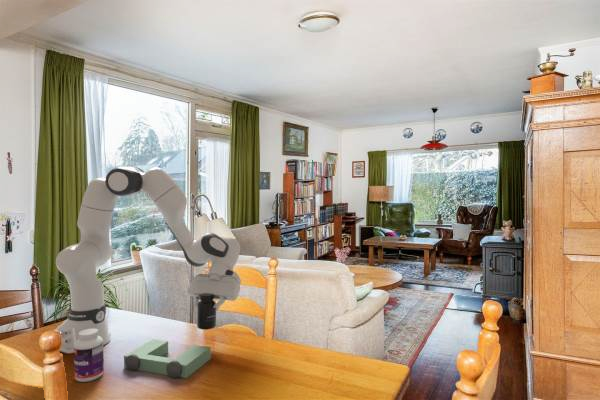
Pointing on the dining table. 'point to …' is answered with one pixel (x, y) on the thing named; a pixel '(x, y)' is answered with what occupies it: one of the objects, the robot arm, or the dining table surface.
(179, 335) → the dining table surface
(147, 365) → the green u-shaped block
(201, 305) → the supplement bottle
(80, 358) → the pill bottle
